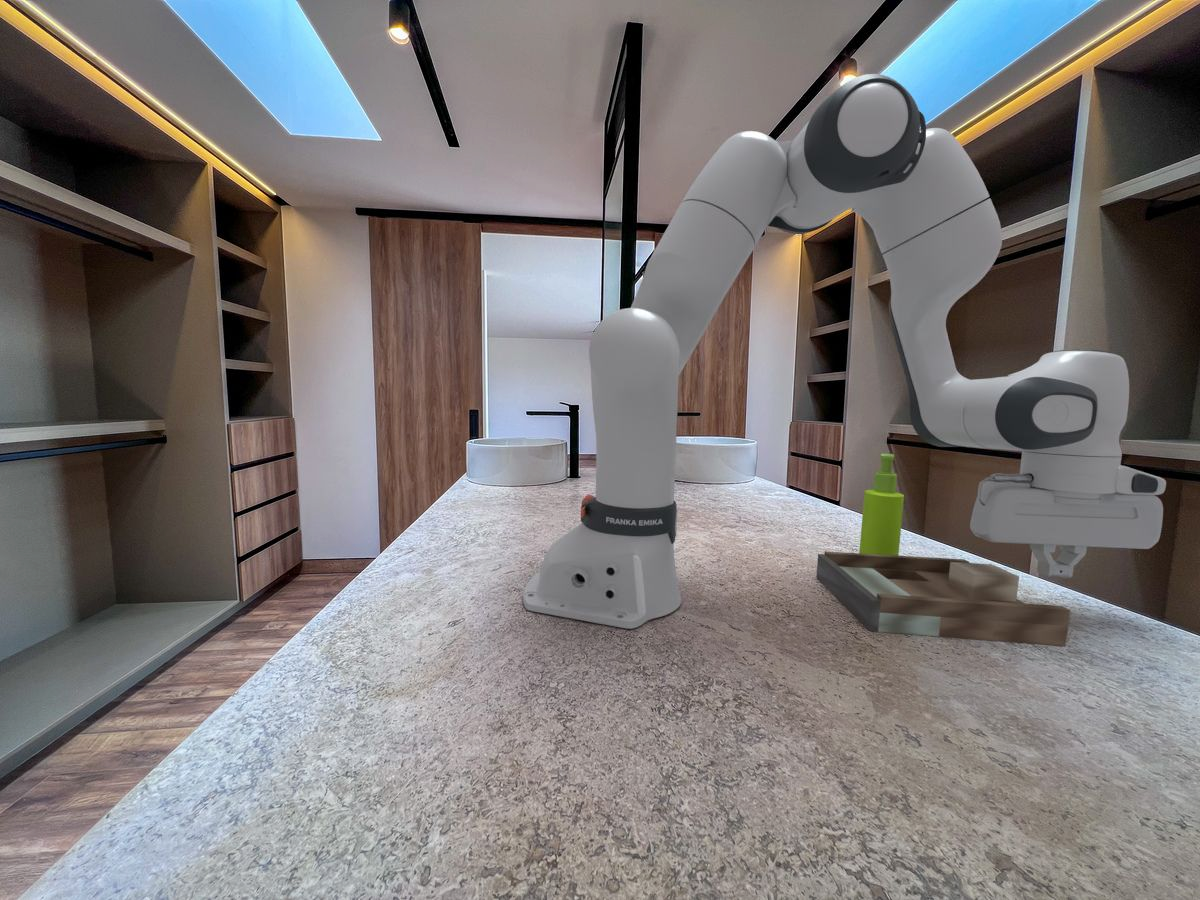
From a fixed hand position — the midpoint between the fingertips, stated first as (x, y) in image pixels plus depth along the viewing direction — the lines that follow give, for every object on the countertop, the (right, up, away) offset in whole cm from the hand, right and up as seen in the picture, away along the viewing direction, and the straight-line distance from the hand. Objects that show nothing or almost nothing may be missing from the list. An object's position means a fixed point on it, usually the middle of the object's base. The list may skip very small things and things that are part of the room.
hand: (1054, 575), depth 58 cm
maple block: (-9, -3, +1) cm, 9 cm away
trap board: (-16, -5, +2) cm, 17 cm away
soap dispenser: (-11, -4, +19) cm, 23 cm away
